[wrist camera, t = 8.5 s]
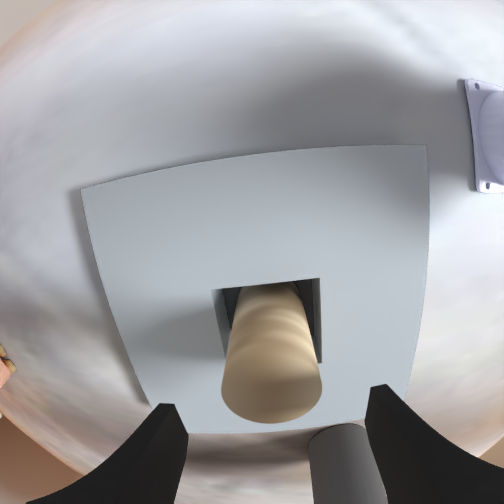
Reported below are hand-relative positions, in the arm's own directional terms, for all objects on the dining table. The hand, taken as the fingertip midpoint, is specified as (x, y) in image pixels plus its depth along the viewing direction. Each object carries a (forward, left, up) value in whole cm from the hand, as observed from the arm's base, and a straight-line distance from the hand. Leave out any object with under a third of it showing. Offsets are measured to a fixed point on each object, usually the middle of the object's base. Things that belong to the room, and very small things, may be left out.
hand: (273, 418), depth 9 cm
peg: (0, 0, -9) cm, 9 cm away
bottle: (-5, +16, -9) cm, 19 cm away
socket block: (0, 0, -9) cm, 9 cm away
